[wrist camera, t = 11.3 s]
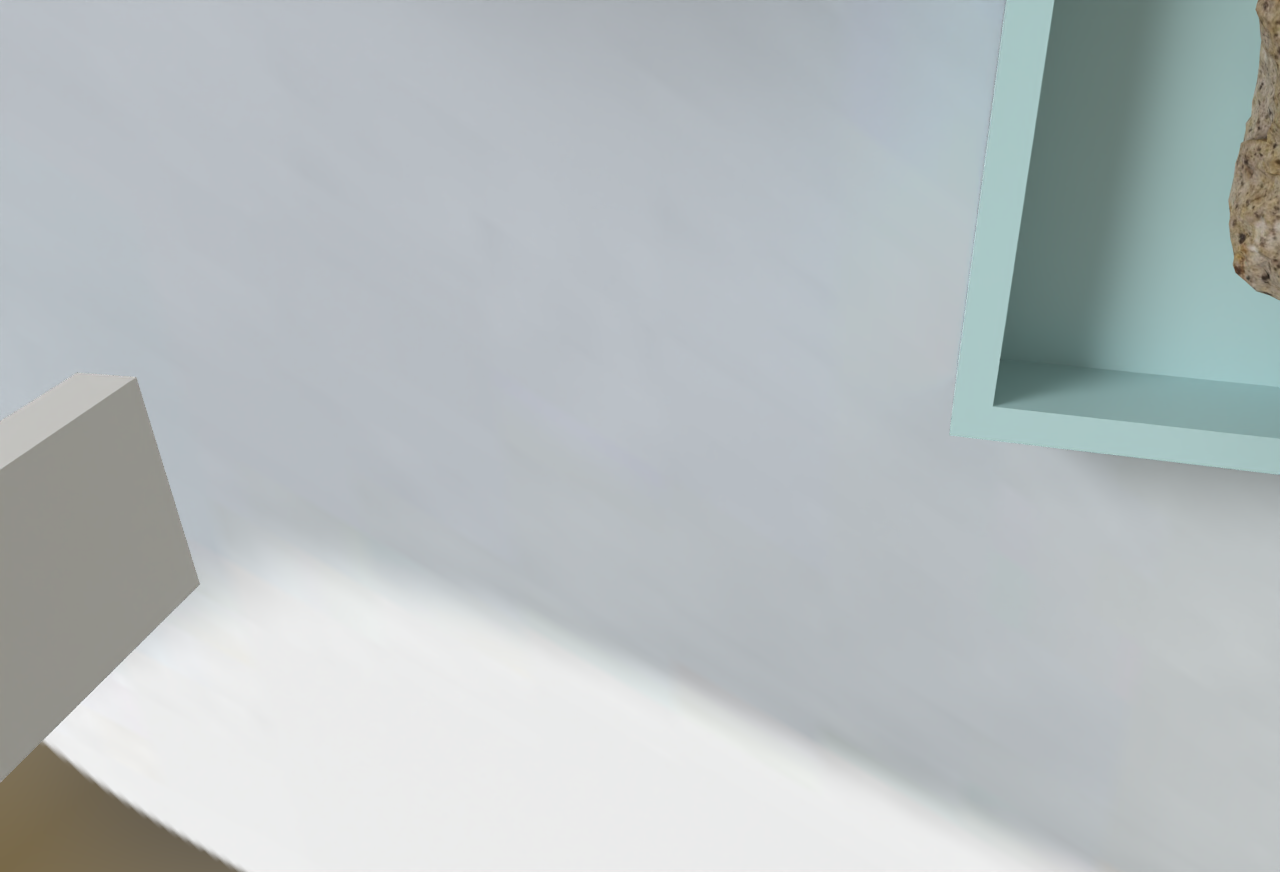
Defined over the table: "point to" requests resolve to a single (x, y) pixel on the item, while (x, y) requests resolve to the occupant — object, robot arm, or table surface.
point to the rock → (1260, 169)
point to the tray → (1119, 240)
